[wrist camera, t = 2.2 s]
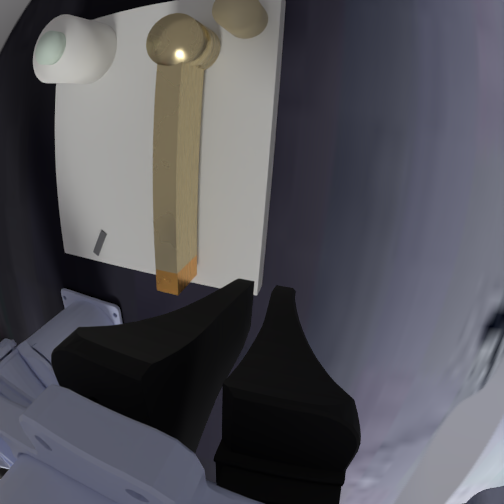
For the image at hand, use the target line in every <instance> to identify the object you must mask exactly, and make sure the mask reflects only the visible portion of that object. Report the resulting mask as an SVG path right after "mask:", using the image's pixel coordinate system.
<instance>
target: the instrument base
mask: <svg viewBox="0 0 504 504" xmlns="http://www.w3.org/2000/svg"><path fill="white" fill-rule="evenodd" d="M285 5H286V1H285V0H176V1H170V2H164V3H159V4H153V5H148V6H144V7H139V8H135V9H130V10H126V11H122V12H118V13H114V14H111V15H107V16H104V17H100V18H97V19H93V20H88V19H84V18H80V17H76V16H72V15H66V14H65V15H60V16H58V17H56V18H54V19H53V20H52V21H51V22H49V23H48V24H47V26H46V27H45V28H44V29H43V31H42V32H41V34H40V36H39V38H38V40H37V43H36V46H35V49H34V54H33V68H34V72H35V75H36V76H37V78H38V79H39V80H40V81H41V82H44V83H56V100H55V159H56V178H57V192H58V203H59V213H60V221H61V229H62V237H63V244H64V250H65V253H68V254H72V255H76V256H80V257H84V258H88V259H92V260H96V261H100V262H104V263H108V264H113V265H117V266H121V267H125V268H130V269H134V270H138V271H143V272H147V273H152V274H156V266H155V248H154V225H153V126H154V103H155V86H156V72H157V64H156V63H155V62H153V61H152V60H151V58H150V57H149V55H148V53H147V49H146V41H147V37H148V34H149V32H150V30H151V28H152V27H153V26H154V24H155V23H156V22H157V21H159V20H160V19H161V18H163V17H165V16H167V15H169V14H173V13H183V14H187V15H189V16H191V17H192V18H194V19H195V20H197V21H199V22H200V23H202V24H203V25H205V26H206V27H208V28H209V29H211V30H212V31H214V32H215V33H216V34H217V36H218V38H219V40H220V53H219V56H218V58H217V60H216V61H215V62H214V64H213V65H212V66H210V67H209V68H208V69H206V70H204V78H203V92H202V107H201V124H200V144H199V169H198V203H197V275H196V276H195V277H194V278H193V279H192V281H191V282H193V283H198V284H202V285H207V286H212V287H217V288H222V287H224V286H226V285H227V284H229V283H231V282H233V281H234V280H236V279H238V278H240V279H245V280H250V281H254V293H253V295H257V294H258V292H259V290H260V288H261V286H262V279H263V269H264V258H265V248H266V237H267V226H268V215H269V204H270V193H271V182H272V171H273V159H274V147H275V136H276V123H277V111H278V99H279V86H280V73H281V60H282V47H283V33H284V19H285Z"/></svg>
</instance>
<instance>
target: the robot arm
mask: <svg viewBox="0 0 504 504" xmlns="http://www.w3.org/2000/svg"><path fill="white" fill-rule="evenodd" d="M253 293H254V281H250V280H245V279H240V278H238V279H236V280H234V281H233V282H231V283H229V284H227V285H226V286H224V287H222V288H221V289H219V290H217V291H215V292H213V293H212V294H210V295H208V296H206V297H204V298H202V299H200V300H198V301H196V302H194V303H192V304H190V305H188V306H185V307H183V308H181V309H178V310H175V311H173V312H170V313H167V314H164V315H161V316H157V317H153V318H149V319H145V320H141V321H137V322H131V323H125V324H123V323H122V317H121V311H120V308H119V307H118V306H117V305H115V304H112V303H109V302H106V301H102V300H99V299H96V298H93V297H90V296H87V295H84V294H81V293H78V292H75V291H72V290H69V289H66V288H63V289H62V290H61V294H62V299H63V303H64V307H65V309H64V310H63V311H62V312H60V313H59V314H58V315H56V316H55V317H54V318H53V319H51V320H50V321H49V322H48V323H46V324H45V325H44V326H43V327H42V328H40V329H39V330H38V331H37V332H35V333H34V334H33V335H32V336H31V337H29V338H28V339H27V340H26V341H24V342H22V343H21V344H19V345H18V346H17V347H15V346H16V345H17V344H16V342H15V341H14V340H13V339H12V340H10V339H4V340H3V341H1V342H0V467H1V468H6V469H9V470H8V471H7V472H6V473H5V475H4V476H3V477H2V478H1V479H0V504H339V501H340V493H341V486H343V484H344V481H345V473H346V469H347V468H348V466H349V464H350V463H351V461H352V460H353V458H354V456H355V455H356V453H357V452H358V449H359V446H360V440H361V433H360V424H359V418H358V413H357V409H356V405H355V401H354V399H353V398H352V397H351V396H350V395H348V394H347V393H346V392H345V391H344V390H343V389H342V388H341V387H340V386H339V385H337V384H336V383H335V382H334V380H333V379H332V378H331V377H330V376H329V375H328V373H327V372H326V371H325V369H324V368H323V367H322V365H321V364H320V362H319V361H318V360H317V358H316V356H315V355H314V353H313V351H312V349H311V347H310V345H309V344H308V341H307V339H306V337H305V335H304V332H303V330H302V327H301V324H300V321H299V317H298V313H297V309H296V304H295V293H296V291H295V290H294V289H293V288H289V287H283V286H278V285H277V286H276V287H275V288H274V290H273V291H272V294H271V297H270V301H269V305H268V309H267V313H266V316H265V320H264V323H263V326H262V328H261V330H260V332H259V333H258V335H257V337H256V339H255V341H254V342H253V344H252V346H251V347H250V349H249V351H248V352H247V354H246V355H245V357H244V358H243V360H242V361H241V362H240V364H239V365H238V366H237V368H236V369H235V370H234V371H233V372H232V373H231V375H230V376H229V377H228V375H229V373H230V371H231V369H232V368H233V366H234V364H235V362H236V360H237V358H238V356H239V354H240V352H241V350H242V349H243V346H244V344H245V341H246V338H247V335H248V332H249V330H250V327H251V316H252V305H253ZM116 314H117V315H116ZM227 377H228V378H227ZM222 386H223V404H222V440H221V442H220V444H219V447H218V449H217V451H216V454H215V456H214V462H216V483H215V482H212V481H208V480H205V470H204V469H203V467H202V465H201V463H200V462H199V460H198V458H197V457H196V455H195V452H196V449H197V447H198V444H199V441H200V438H201V436H202V433H203V431H204V428H205V426H206V423H207V420H208V418H209V415H210V413H211V410H212V408H213V405H214V403H215V400H216V398H217V396H218V394H219V392H220V390H221V388H222ZM464 504H504V486H502V487H496V488H490V489H486V490H483V491H481V492H479V493H477V494H476V495H474V496H473V497H472V498H471V499H470V500H468V502H467V503H464Z"/></svg>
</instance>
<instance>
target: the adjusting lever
mask: <svg viewBox="0 0 504 504" xmlns="http://www.w3.org/2000/svg"><path fill="white" fill-rule="evenodd" d="M146 49H147V53H148V55H149V57H150V58H151V60H152V61H153V62H155V63H156V64H157V72H156V86H155V103H154V126H153V225H154V248H155V266H156V281H157V290H158V291H162V292H166V293H170V294H175V295H179V294H180V293H181V292H182V290H183V289H184V288H185V287H186V286H187V285H188V284H189V283H190V282H191V281H192V279H193V278H194V277H195V276H196V275H197V203H198V169H199V144H200V124H201V107H202V92H203V78H204V70H206V69H208V68H209V67H210V66H212V65H213V64H214V62H215V61H216V60H217V58H218V56H219V53H220V40H219V38H218V36H217V34H216V33H215V32H214V31H212V30H211V29H209V28H208V27H206V26H205V25H203V24H202V23H200V22H199V21H197V20H195V19H194V18H192V17H191V16H189V15H187V14H183V13H173V14H169V15H167V16H165V17H163V18H161V19H160V20H159V21H157V22H156V23H155V24H154V26H153V27H152V28H151V30H150V32H149V34H148V37H147V41H146Z"/></svg>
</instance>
